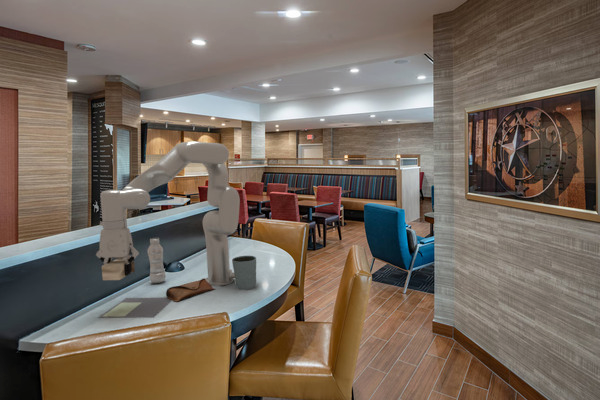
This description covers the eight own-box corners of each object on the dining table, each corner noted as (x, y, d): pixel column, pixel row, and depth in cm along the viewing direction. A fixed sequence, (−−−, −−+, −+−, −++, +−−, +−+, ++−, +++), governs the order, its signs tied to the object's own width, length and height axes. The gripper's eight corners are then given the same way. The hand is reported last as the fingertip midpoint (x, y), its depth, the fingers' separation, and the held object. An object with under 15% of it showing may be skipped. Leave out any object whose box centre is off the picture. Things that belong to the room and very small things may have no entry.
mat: (175, 298, 138) (175, 297, 138) (154, 318, 120) (153, 317, 120) (126, 298, 139) (126, 297, 139) (97, 319, 121) (97, 317, 121)
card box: (119, 280, 121) (118, 265, 121) (102, 280, 122) (101, 266, 121) (134, 271, 131) (133, 258, 131) (119, 271, 132) (118, 258, 131)
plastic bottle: (161, 285, 154) (157, 240, 152) (146, 284, 155) (143, 240, 153) (168, 280, 160) (165, 237, 158) (155, 279, 162) (151, 237, 159)
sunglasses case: (177, 301, 132) (172, 284, 134) (169, 306, 136) (164, 290, 138) (217, 288, 146) (211, 273, 147) (208, 294, 150) (203, 279, 152)
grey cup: (253, 290, 143) (251, 262, 142) (229, 289, 145) (228, 261, 144) (260, 282, 153) (259, 255, 152) (238, 281, 155) (237, 255, 154)
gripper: (84, 227, 121) (89, 278, 123) (133, 226, 120) (137, 277, 122) (98, 223, 129) (102, 271, 131) (144, 222, 128) (147, 271, 130)
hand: (119, 274), depth 126 cm, fingers closed on card box, 6 cm apart
